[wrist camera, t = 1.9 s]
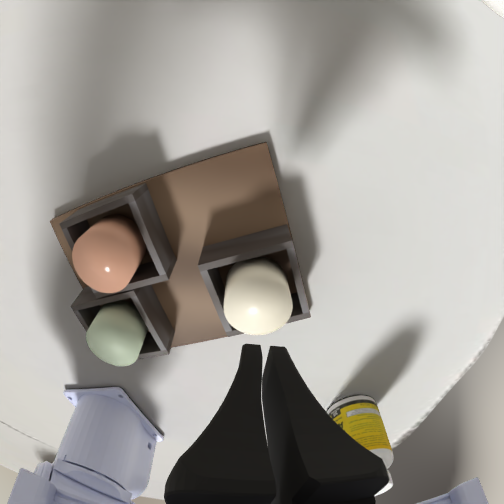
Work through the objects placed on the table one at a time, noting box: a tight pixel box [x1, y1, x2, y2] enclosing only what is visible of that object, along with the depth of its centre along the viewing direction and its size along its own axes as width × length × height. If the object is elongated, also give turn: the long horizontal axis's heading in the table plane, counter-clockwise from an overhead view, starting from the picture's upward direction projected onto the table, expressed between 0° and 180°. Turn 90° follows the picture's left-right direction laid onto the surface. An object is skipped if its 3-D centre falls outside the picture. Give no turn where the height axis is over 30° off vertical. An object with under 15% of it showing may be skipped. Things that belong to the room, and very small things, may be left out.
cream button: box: [224, 256, 293, 335], centre depth 17 cm, size 4×4×3 cm
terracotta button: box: [72, 214, 146, 293], centre depth 16 cm, size 4×4×3 cm
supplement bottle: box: [327, 395, 393, 496], centre depth 23 cm, size 5×5×10 cm
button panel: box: [50, 142, 311, 359], centre depth 19 cm, size 12×15×3 cm
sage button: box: [86, 300, 148, 366], centre depth 19 cm, size 4×4×3 cm
